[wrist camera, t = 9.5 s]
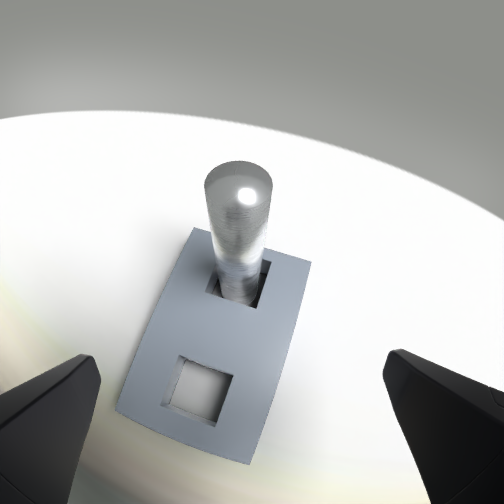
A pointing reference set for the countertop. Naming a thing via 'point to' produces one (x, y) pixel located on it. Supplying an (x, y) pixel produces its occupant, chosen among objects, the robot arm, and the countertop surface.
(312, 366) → the countertop surface
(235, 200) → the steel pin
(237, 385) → the socket block
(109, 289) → the countertop surface
